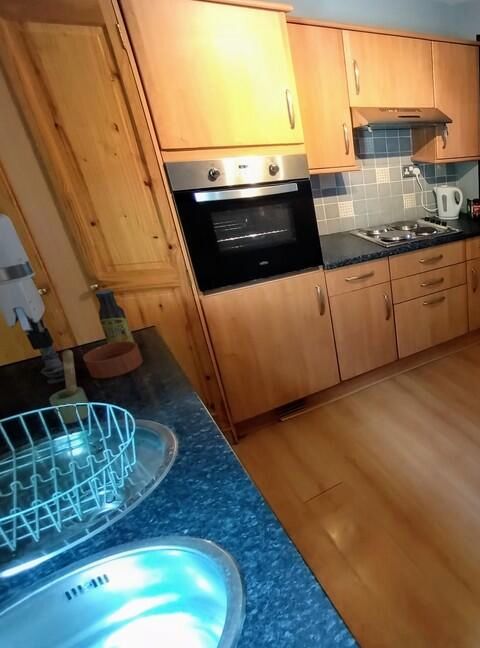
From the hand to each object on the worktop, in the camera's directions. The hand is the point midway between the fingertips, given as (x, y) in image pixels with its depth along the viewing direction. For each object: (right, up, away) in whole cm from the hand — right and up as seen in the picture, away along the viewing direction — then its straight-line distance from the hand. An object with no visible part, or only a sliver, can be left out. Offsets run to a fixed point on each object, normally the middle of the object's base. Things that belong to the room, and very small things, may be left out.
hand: (44, 346), depth 105 cm
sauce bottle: (-16, -5, +40) cm, 43 cm away
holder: (0, -19, +8) cm, 20 cm away
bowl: (-8, -9, +29) cm, 31 cm away
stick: (-1, -18, +8) cm, 20 cm away
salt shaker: (-20, -12, +24) cm, 34 cm away
